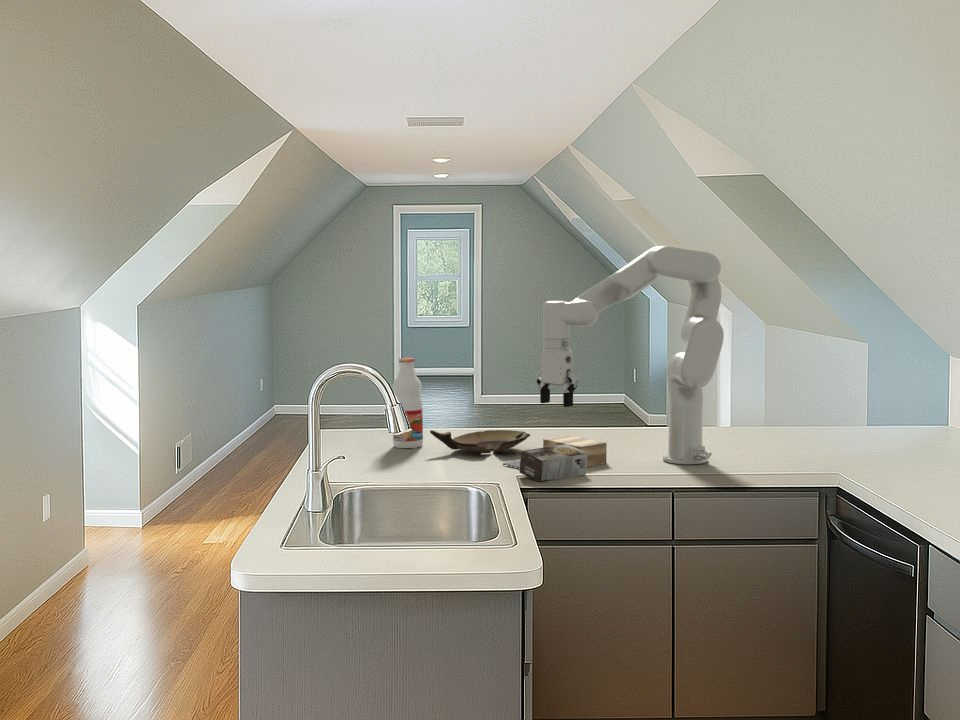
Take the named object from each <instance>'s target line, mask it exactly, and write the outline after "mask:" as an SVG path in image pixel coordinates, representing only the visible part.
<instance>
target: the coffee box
mask: <svg viewBox="0 0 960 720" xmlns="http://www.w3.org/2000/svg"><path fill="white" fill-rule="evenodd" d="M587 455H588V454H587V453H586V452H583V451H581V450H579V449H577V448H575V447H572V446H570V445H568V444H564V445H557V446H551V447H544V448H543V447H538V448H532V449H531V448H530V449H526V450H521V452H520V469H519V473H520V474H522V475H523V476H526V477H527V478H530V479H531V480H533V481H536V482H538V483H543V482H548V481H553V480H560V479H567V478H572V477H573V478H574V477H577V476H578V477H579V476H583V475H584V476H585V475H586V473H587V472H586V471H587V467H586V464H587Z"/></svg>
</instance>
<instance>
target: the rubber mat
mask: <svg viewBox="0 0 960 720" xmlns="http://www.w3.org/2000/svg"><path fill="white" fill-rule="evenodd" d="M520 460H521V459H520ZM520 460H515V461H510V462H509V461H508V462H503V463H502V466H503V465H508V466H512V467H516V468H520ZM512 467H511V468H512ZM516 468H515V469H516Z"/></svg>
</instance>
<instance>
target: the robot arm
mask: <svg viewBox="0 0 960 720" xmlns="http://www.w3.org/2000/svg"><path fill="white" fill-rule="evenodd" d="M721 267H722V266H721V262H720V259H719V258H718V256H716V255H714V254H713V253H711V252H708V251H701V250H693V249H688V248H687V249H686V248H681V247H675V246H670V245H660V246H659V245H658V246H657V245H656V246H653V247H651V248H650V249H648V250H646V251H645V252H643V253H642V254H641V255H639V256H637V257H636V258H635V259H633V260H631V262H629V263H627V264H626V265H624V266H623V267H621V268H620V269H619V270H617V271H615V272H614V273H612V274H611V275H609V276H607V277H606V278H605V279H603V280H602V281H600V282H598V283H597V284H594V285H593V286H591V287H590V288H589V289H587V290H586V291H584V292H582V293H581V294H580V295H578V296H577V297H575V298H574V299H573V300H572V301H569V302H568V301H565V300H548V301H545V302H543V306H542V307H543V308H542V318H543V319H542V333H543V334H542V338H543V340H542V343H543V344H542V348H543V349H542V351H541V356H540V369H539V370H538V371H536V372H535V373H534V375H535V379H536V384H537V385H538V389H539V391H540V393H539V394H540V395H539V397H540V399H539V403H540V404H546V403H550V402H551V388H549V387H550V386H552V385H554V386H561V387H562V389H563V391H564V392H563V393H562V394H563V395H562V396H563V397H562V399H563V402H562V405H563V407H564V408H569V407H573V406H574V393H575V392H576V389H577V387H578V384H579V381H580V378H579V377H578V375H576V374H575V362H574V356H573V355H574V354H573V350H572V349H571V345H572V343H571V336H570V335H571V332H570V331H571V326H573V327H581V328H587V327H592V326H593V325H594V324H595V323H596V322H597V321H598V319H599V317H600V316H599V315H600V313H601V312H602V311H604V310H606V309H607V308H609V307H611V306H613V305H615V304H618V303H621V302H624V301H628V300H629V299H631V298H633V297H635V296H636V295H638V294H639V293H641V292H642V291H643V290H645V289H646V288H649V286H650V285H652V284H654V283H655V282H657V281H658V280H659V279H661V278H663V277H666V278H671V279H677V280H681V281H683V280H684V281H687V282H688V285H689V287H690V299H689V302H688V306H687V311H686V313H685V318H684V320H683V323H682V327H681V330H680V338H681V340H682V342H683V343H684V344H685V345H686V350H685V351H681V352H677V353H675V354H674V355H672V357H671V358H670V360H669V361H668V363H667V371H666V372H667V373H666V374H667V384H668V385H667V386H668V453H665V454H664V455H663V456H662V460H663V461H664V462H666V463H668V464H669V463H670V464H677V465H700V464H705V463H707V462H708V460H710V458H711V456H712V455H713V454H712V452H710V451H706V446H705V445H703V416H704V415H703V414H704V413H703V411H704V410H703V409H704V408H703V407H704V404H703V403H704V402H703V401H704V400H703V399H704V397H703V395H704V394H703V388H704V387H706V386H707V385H708V384H709V383H710V382H711V380H712V379H713V377H714V373H715V371H716V368H717V365H718V361H719V358H720V354H721V351H722V347H723V344H724V336H725V335H724V334H725V333H724V330H723V329H724V328H723V327H722V326H723V325H721V323H720V322H719V321H718V320H717V319H718V315H719V310H720V307H721V302H722V286H721V283H720V280H719V278H718V277H719V275H720V273H721Z"/></svg>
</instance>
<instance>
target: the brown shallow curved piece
mask: <svg viewBox="0 0 960 720" xmlns="http://www.w3.org/2000/svg"><path fill="white" fill-rule="evenodd" d="M429 433H430V434H431V435H433V437H434V438H436V439H438V440H439V441H440V442H442V443H443V444H444V445H445V446H447V448H449V449H450V450H456V451H457V450H464V451H468V452H471V453H476V454H490V453H493V454H494V453H500V452H504V451H507V450H509V449H512V448H514V447H516V446H518V445H519V444H521V443H523V442H524V441H526V440H527V439H528V438H529V437H530V436H531V433H527V432H526V431H521V430H520V431H519V430H513V429H512V430H509V429H508V430H507V429H495V430H493V429H490V430H489V429H488V430H483V431H482V430H480V431H474V432H469V433H464V434H461V435H459V436H456V437H453V438H452V432H451V431H447V432H438V431H436V430H430V431H429Z"/></svg>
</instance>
